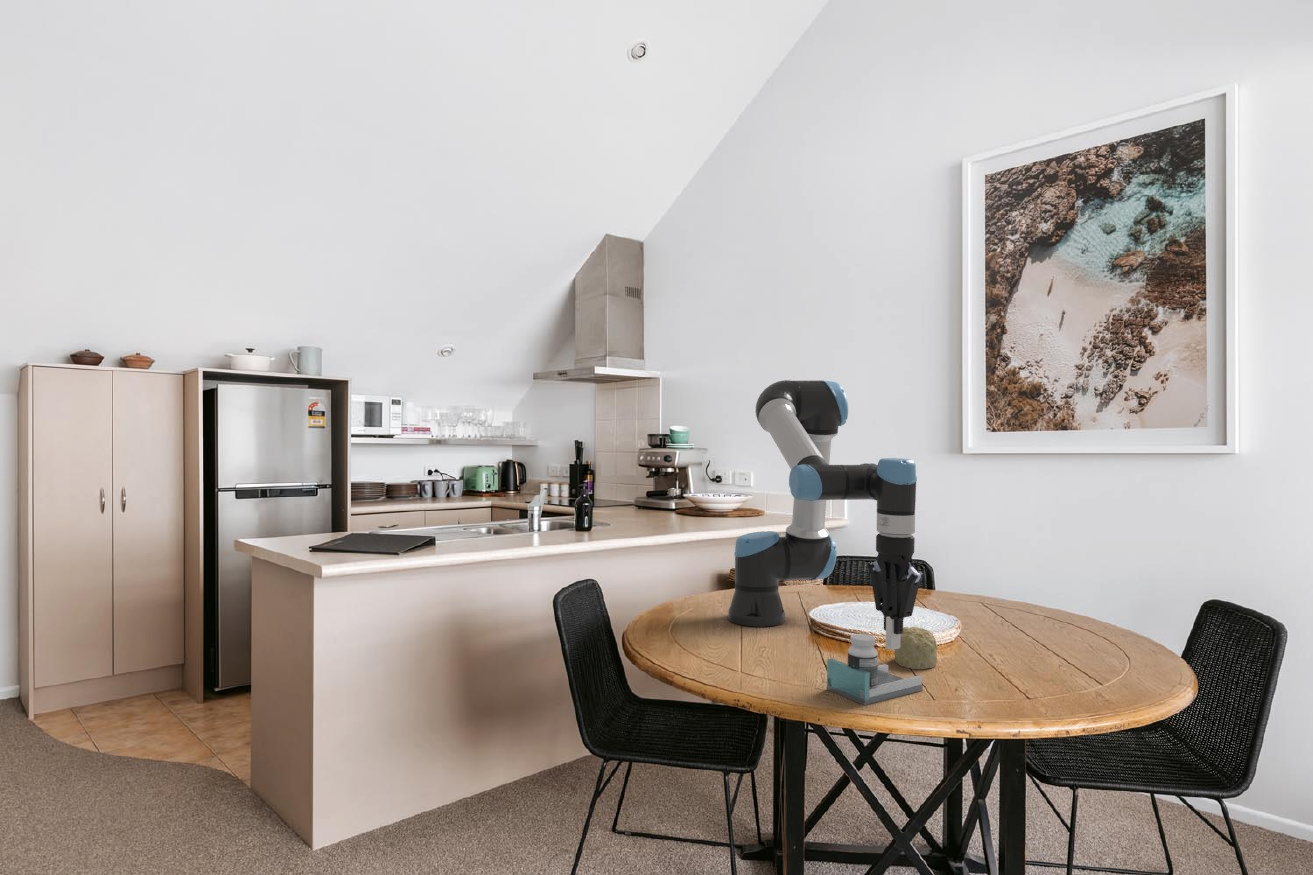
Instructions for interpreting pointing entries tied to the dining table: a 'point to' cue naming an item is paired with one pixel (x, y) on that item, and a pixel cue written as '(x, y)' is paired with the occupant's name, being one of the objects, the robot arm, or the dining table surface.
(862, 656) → the pill bottle
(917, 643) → the decorative object
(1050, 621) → the dining table surface
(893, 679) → the grey tray holder
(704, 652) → the dining table surface
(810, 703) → the dining table surface
